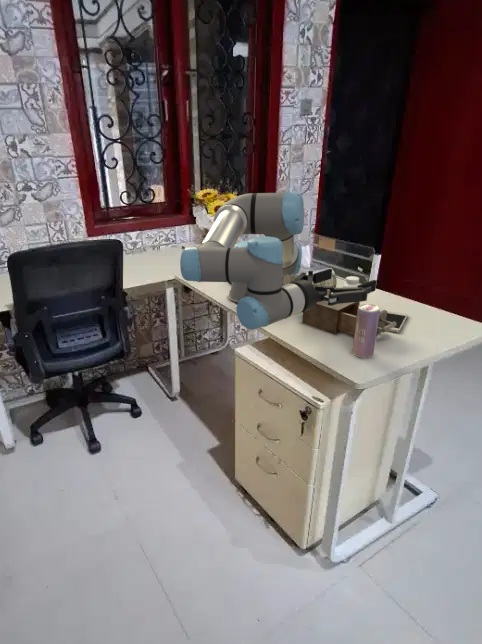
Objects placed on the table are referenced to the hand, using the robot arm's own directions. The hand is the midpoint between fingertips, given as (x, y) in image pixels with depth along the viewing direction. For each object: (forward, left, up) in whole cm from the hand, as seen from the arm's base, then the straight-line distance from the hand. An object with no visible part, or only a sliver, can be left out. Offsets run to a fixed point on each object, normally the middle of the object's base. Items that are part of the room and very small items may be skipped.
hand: (351, 279), depth 109 cm
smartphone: (-4, +37, -26) cm, 45 cm away
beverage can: (+1, +10, -26) cm, 28 cm away
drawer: (-6, +22, -25) cm, 33 cm away
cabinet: (-19, +22, -26) cm, 39 cm away
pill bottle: (-23, +41, -26) cm, 53 cm away
